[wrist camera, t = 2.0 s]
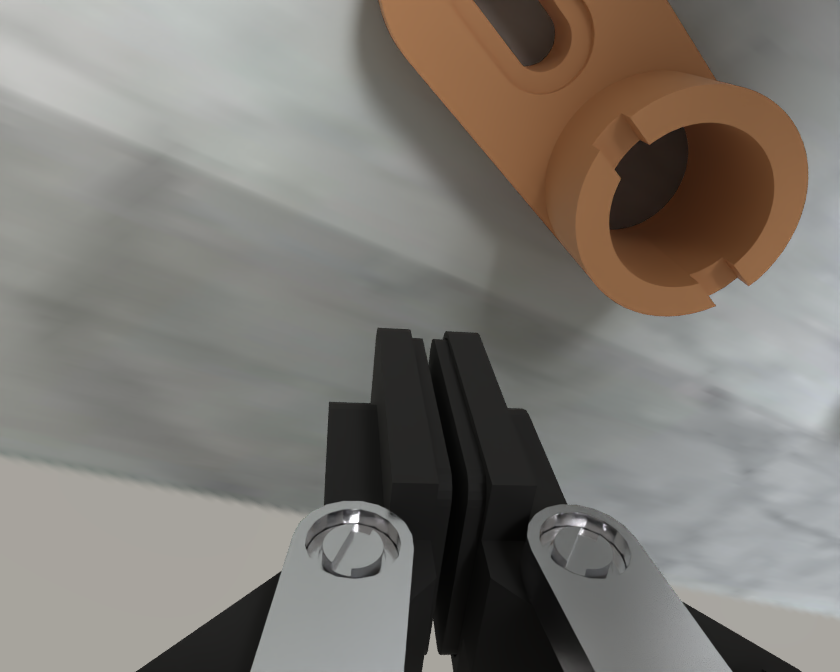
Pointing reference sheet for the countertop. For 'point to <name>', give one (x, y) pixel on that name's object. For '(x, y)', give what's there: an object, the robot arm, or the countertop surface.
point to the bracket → (619, 141)
